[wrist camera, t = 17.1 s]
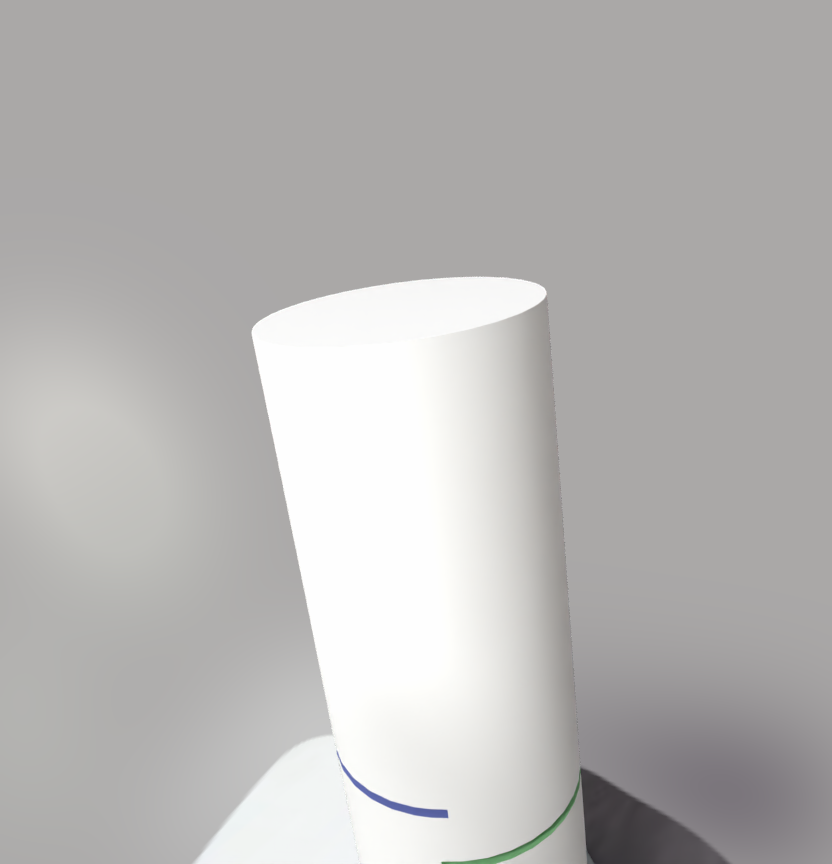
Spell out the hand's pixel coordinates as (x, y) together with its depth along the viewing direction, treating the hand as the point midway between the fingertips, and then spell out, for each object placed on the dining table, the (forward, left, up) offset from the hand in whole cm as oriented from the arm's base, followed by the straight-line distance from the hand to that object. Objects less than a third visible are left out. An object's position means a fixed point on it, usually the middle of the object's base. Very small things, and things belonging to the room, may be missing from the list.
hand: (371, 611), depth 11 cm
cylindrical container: (-3, -9, -23) cm, 25 cm away
